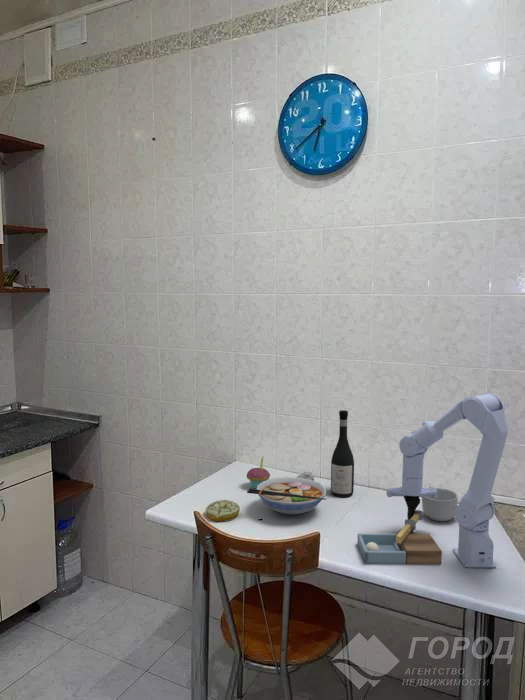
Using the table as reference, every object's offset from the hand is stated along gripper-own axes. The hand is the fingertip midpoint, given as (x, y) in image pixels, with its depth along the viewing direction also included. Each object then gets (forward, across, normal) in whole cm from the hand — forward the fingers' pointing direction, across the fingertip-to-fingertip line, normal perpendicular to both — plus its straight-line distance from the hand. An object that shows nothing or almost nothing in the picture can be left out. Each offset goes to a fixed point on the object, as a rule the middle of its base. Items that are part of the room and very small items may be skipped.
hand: (410, 519), depth 150 cm
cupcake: (+4, +46, -36) cm, 58 cm away
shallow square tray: (+3, +12, +14) cm, 18 cm away
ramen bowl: (+4, +35, -14) cm, 38 cm away
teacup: (+4, -12, -11) cm, 17 cm away
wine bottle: (+4, +16, -30) cm, 34 cm away
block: (+3, +2, +13) cm, 13 cm away
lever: (-1, +2, +8) cm, 8 cm away
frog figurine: (+4, +29, -32) cm, 44 cm away
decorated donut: (+4, +57, -11) cm, 58 cm away
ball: (+3, +14, +15) cm, 21 cm away
